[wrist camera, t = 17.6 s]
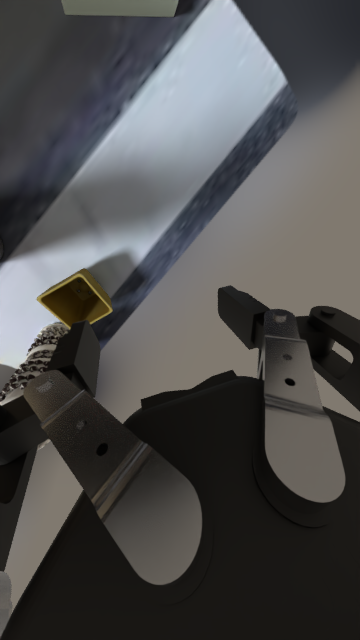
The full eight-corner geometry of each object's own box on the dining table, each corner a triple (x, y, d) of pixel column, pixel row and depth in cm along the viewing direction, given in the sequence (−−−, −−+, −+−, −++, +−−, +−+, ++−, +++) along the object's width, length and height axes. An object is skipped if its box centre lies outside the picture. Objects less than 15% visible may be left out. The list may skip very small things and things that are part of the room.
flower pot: (81, 311, 43) (74, 334, 35) (50, 280, 38) (34, 299, 30) (114, 292, 43) (114, 311, 35) (87, 258, 37) (80, 272, 30)
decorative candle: (63, 359, 48) (23, 474, 27) (27, 339, 42) (-57, 463, 22) (89, 337, 47) (68, 441, 26) (55, 314, 41) (-5, 422, 21)
